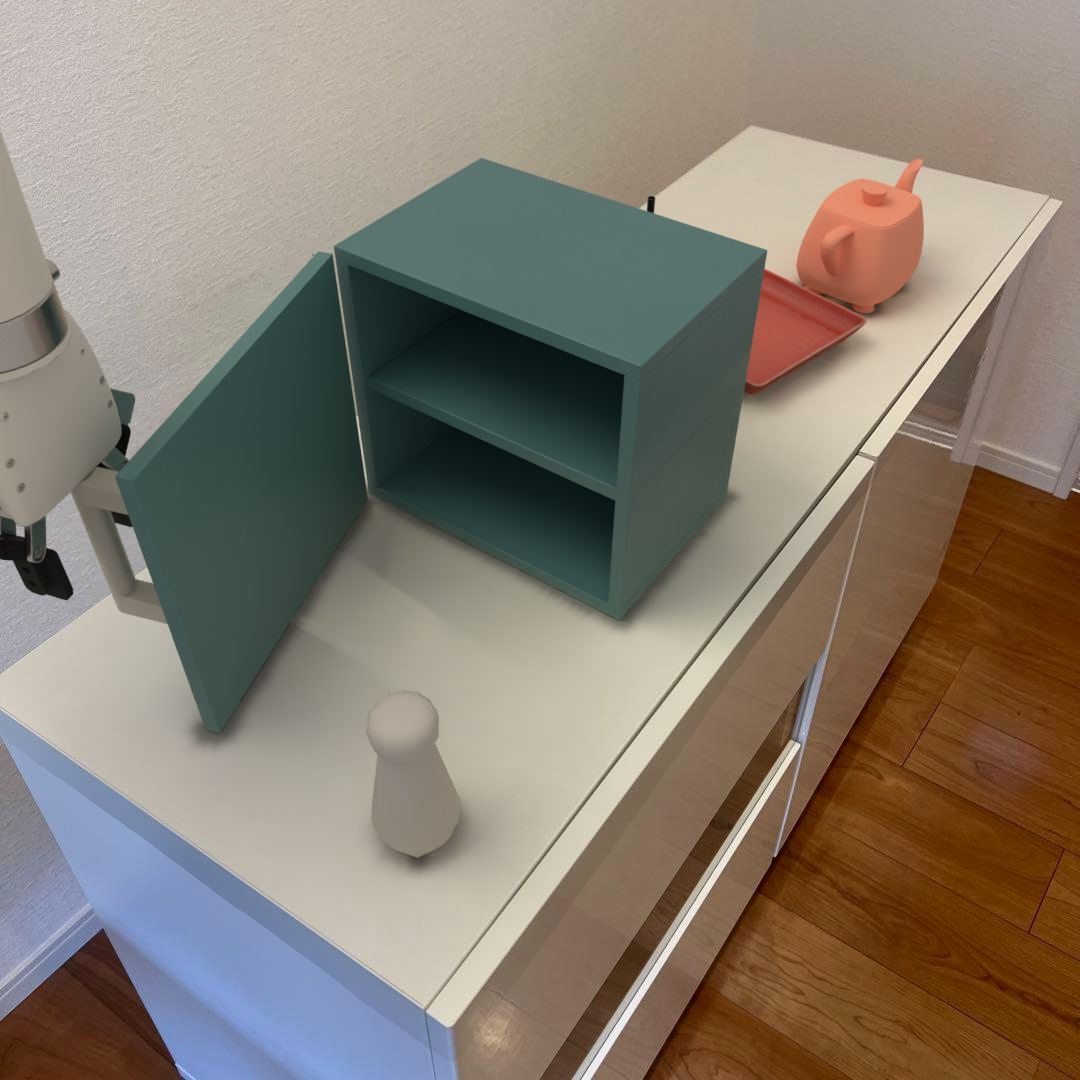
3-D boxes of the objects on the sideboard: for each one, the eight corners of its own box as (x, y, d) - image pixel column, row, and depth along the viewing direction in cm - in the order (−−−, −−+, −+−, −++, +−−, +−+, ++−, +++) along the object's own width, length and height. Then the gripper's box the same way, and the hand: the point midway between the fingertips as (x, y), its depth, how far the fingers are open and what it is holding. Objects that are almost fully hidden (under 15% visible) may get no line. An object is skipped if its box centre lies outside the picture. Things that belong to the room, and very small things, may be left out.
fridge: (619, 621, 85) (641, 366, 68) (368, 493, 96) (332, 245, 79) (726, 497, 96) (768, 249, 79) (489, 394, 107) (481, 157, 90)
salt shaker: (427, 777, 75) (412, 657, 66) (479, 832, 72) (471, 715, 63) (357, 826, 72) (332, 709, 63) (408, 886, 69) (389, 771, 60)
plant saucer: (732, 278, 123) (736, 251, 120) (864, 344, 113) (871, 317, 111) (621, 338, 114) (623, 311, 112) (753, 415, 104) (758, 388, 102)
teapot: (860, 341, 114) (886, 238, 105) (763, 302, 119) (780, 201, 111) (942, 266, 125) (972, 167, 116) (850, 234, 130) (872, 137, 122)
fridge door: (127, 708, 79) (17, 454, 62) (290, 481, 97) (239, 237, 80) (220, 733, 77) (132, 480, 60) (368, 498, 95) (332, 253, 79)
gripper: (38, 237, 65) (118, 463, 78) (-189, 398, 54) (-53, 633, 66) (143, 259, 64) (207, 486, 76) (-68, 431, 52) (49, 666, 64)
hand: (86, 553), depth 71 cm, fingers open, 6 cm apart
